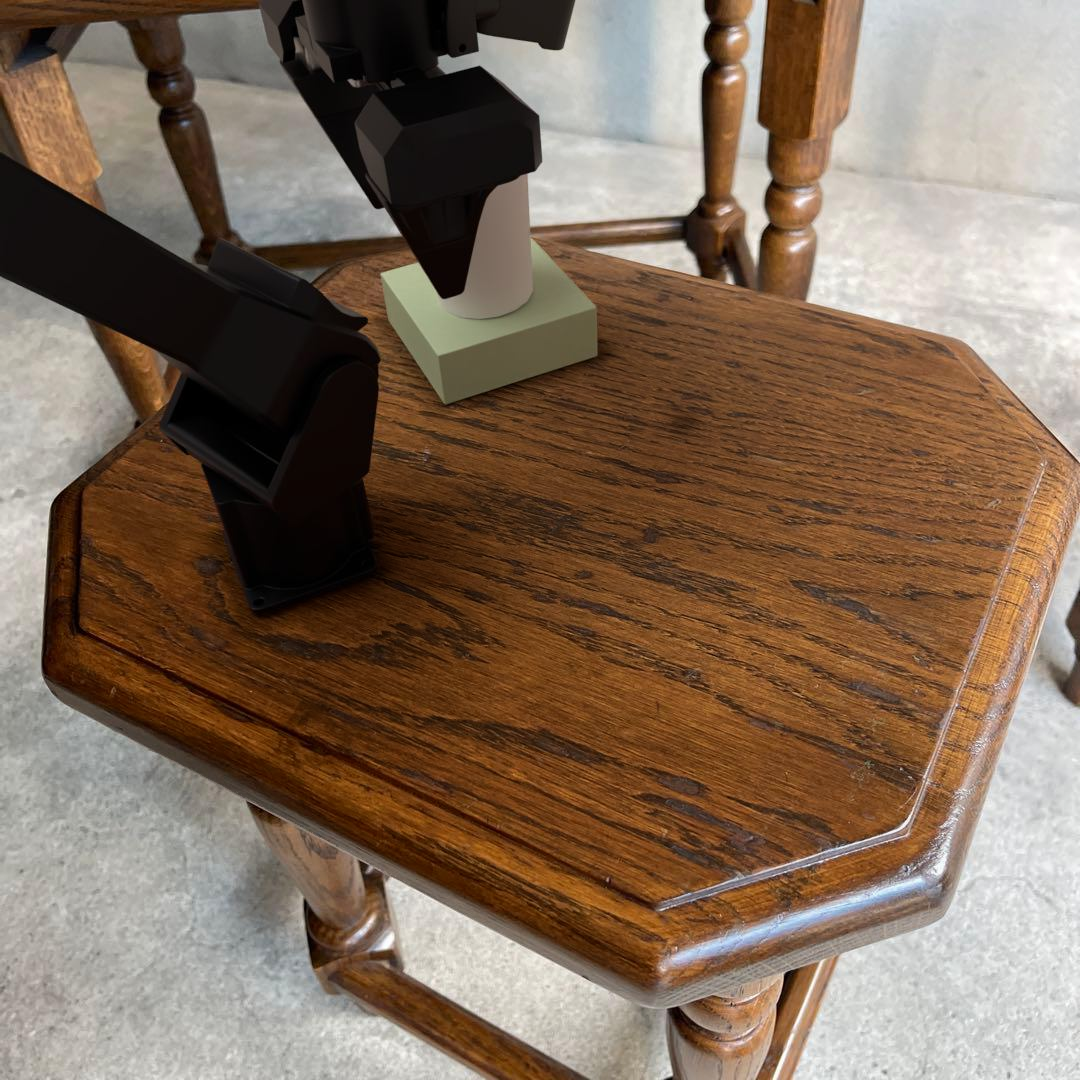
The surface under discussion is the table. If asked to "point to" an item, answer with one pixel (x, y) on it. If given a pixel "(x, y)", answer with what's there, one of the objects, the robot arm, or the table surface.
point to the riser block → (491, 331)
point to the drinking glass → (498, 257)
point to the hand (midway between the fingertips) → (416, 248)
